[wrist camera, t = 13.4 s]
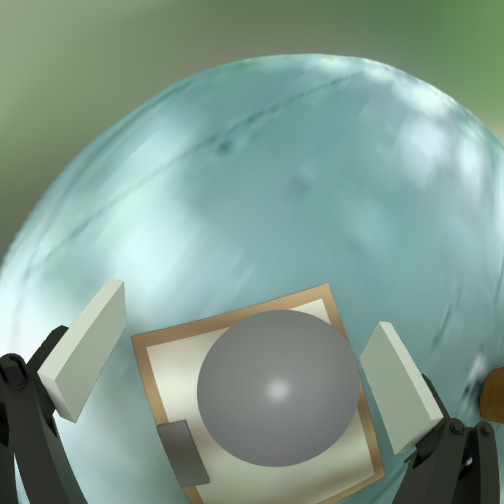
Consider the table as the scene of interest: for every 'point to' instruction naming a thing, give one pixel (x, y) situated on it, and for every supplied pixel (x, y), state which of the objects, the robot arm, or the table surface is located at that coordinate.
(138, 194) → the table surface
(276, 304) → the clipboard
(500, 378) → the disposable coffee cup
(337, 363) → the ball
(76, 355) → the robot arm
